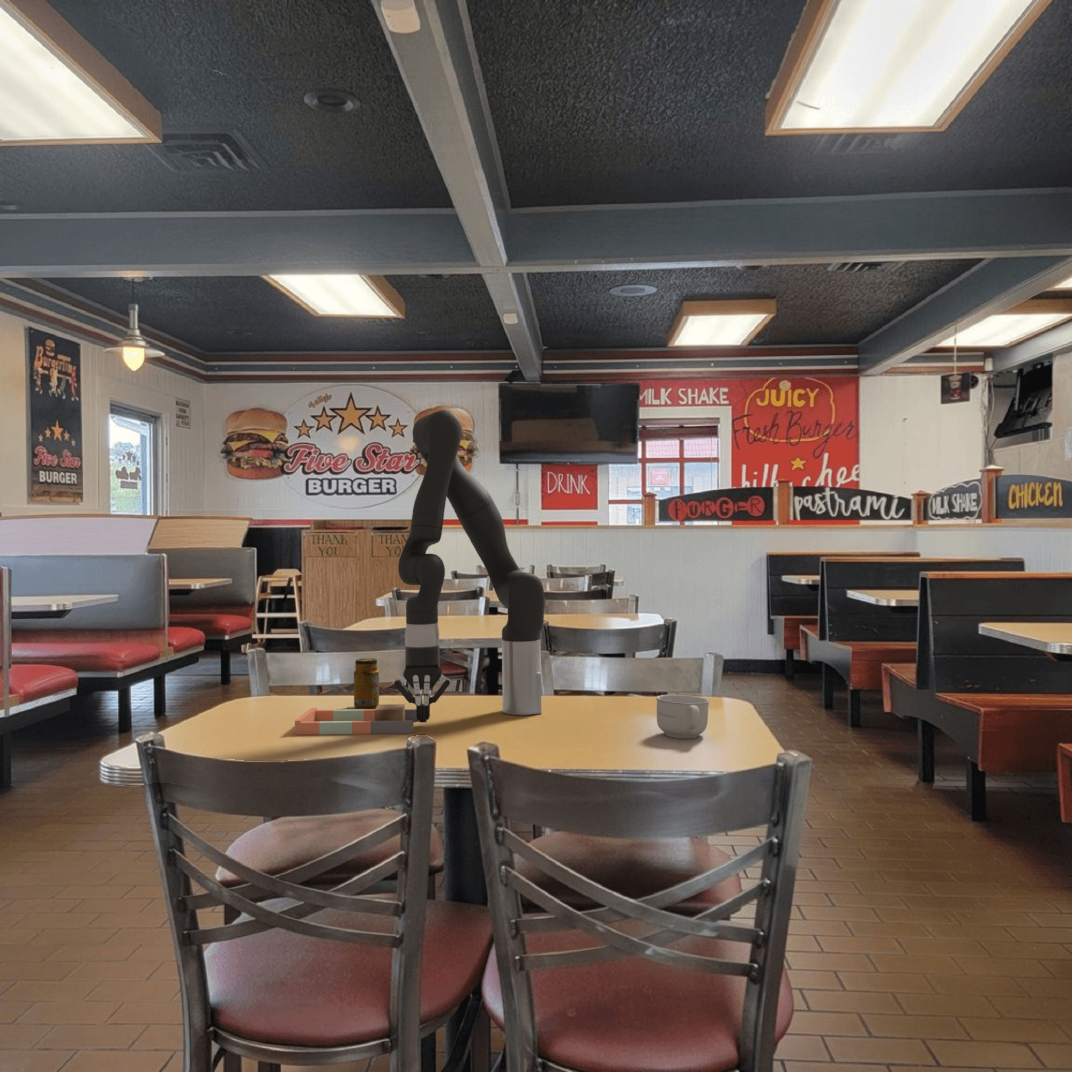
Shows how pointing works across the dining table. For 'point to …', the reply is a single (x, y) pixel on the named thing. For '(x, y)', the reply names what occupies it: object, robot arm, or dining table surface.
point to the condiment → (366, 684)
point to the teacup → (682, 715)
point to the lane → (351, 722)
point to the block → (390, 712)
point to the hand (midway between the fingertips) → (423, 721)
